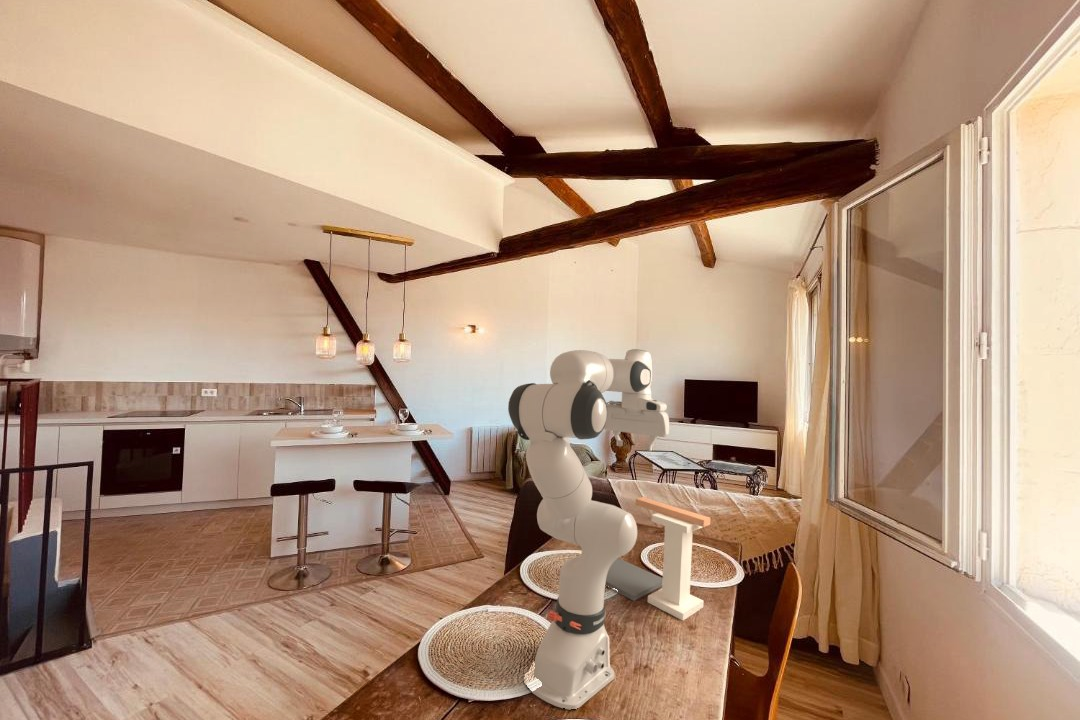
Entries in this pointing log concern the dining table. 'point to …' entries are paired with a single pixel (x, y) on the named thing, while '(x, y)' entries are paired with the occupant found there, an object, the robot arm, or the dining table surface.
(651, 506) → the slat
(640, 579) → the mat
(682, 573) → the stand
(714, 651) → the dining table surface
